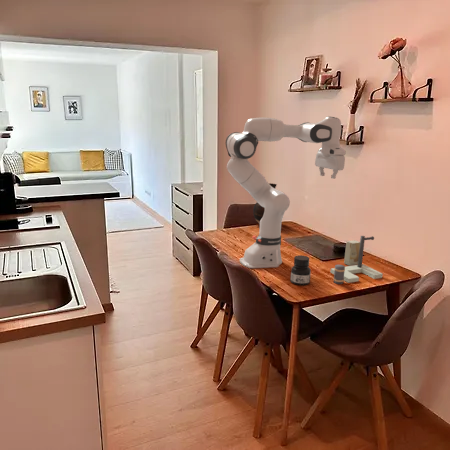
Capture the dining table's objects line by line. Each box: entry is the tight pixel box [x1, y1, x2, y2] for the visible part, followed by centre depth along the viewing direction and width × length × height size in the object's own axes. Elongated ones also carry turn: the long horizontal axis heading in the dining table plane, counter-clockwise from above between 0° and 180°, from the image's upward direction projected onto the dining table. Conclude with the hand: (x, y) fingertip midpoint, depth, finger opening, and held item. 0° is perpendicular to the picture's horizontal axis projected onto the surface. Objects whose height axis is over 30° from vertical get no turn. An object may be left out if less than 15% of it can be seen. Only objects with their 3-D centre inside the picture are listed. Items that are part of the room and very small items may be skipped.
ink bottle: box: [290, 254, 312, 286], centre depth 191 cm, size 10×9×12 cm
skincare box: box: [343, 240, 360, 266], centre depth 217 cm, size 6×4×12 cm
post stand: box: [329, 235, 383, 283], centre depth 201 cm, size 22×14×18 cm, turn 111°
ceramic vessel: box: [252, 182, 278, 225], centre depth 289 cm, size 21×18×30 cm
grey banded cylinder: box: [333, 264, 346, 285], centre depth 192 cm, size 5×5×8 cm
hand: (327, 177), depth 213 cm, fingers open, 8 cm apart
